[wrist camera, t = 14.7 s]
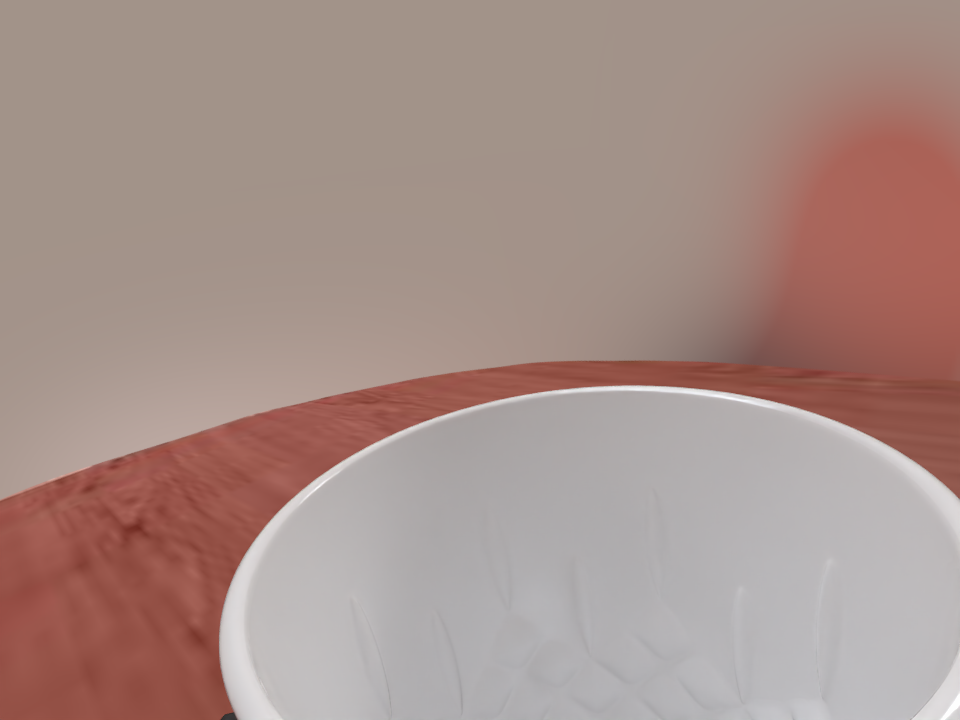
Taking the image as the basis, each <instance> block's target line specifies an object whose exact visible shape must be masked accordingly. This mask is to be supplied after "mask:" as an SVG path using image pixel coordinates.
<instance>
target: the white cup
mask: <svg viewBox="0 0 960 720" xmlns="http://www.w3.org/2000/svg"><path fill="white" fill-rule="evenodd" d="M219 656H220V665H221V672H222V677H223V681H224V685H225V689H226V692H227V695H228V698H229V701H230V704H231V706H232V709H233V711H234V714H235V716H236V718H237V720H960V499H959V498H958V497H957V496H956V495H955V494H954V493H953V492H952V491H951V490H950V489H949V488H947V487H946V486H945V485H944V484H943V483H942V482H941V481H940V480H938V479H937V478H936V477H935V476H933V475H932V474H931V473H930V472H928V471H927V470H926V469H924V468H923V467H922V466H920V465H919V464H917V463H916V462H914V461H913V460H911V459H910V458H908V457H907V456H905V455H904V454H902V453H900V452H899V451H897V450H895V449H894V448H892V447H890V446H888V445H886V444H885V443H883V442H881V441H879V440H877V439H875V438H873V437H871V436H869V435H867V434H865V433H863V432H861V431H858V430H856V429H854V428H852V427H849V426H847V425H844V424H842V423H840V422H837V421H834V420H832V419H829V418H826V417H824V416H821V415H818V414H815V413H812V412H809V411H805V410H802V409H799V408H795V407H792V406H788V405H784V404H780V403H776V402H772V401H768V400H764V399H759V398H754V397H749V396H744V395H738V394H732V393H726V392H719V391H711V390H703V389H693V388H681V387H665V386H602V387H586V388H574V389H564V390H556V391H548V392H541V393H534V394H528V395H522V396H517V397H512V398H507V399H502V400H497V401H493V402H489V403H485V404H480V405H477V406H473V407H469V408H465V409H462V410H459V411H455V412H452V413H449V414H446V415H442V416H439V417H436V418H434V419H431V420H428V421H425V422H422V423H420V424H417V425H415V426H412V427H410V428H407V429H405V430H402V431H400V432H398V433H395V434H393V435H391V436H389V437H387V438H384V439H382V440H380V441H378V442H376V443H374V444H372V445H370V446H368V447H366V448H365V449H363V450H361V451H359V452H357V453H356V454H354V455H352V456H350V457H349V458H347V459H345V460H344V461H342V462H340V463H339V464H337V465H336V466H334V467H333V468H331V469H330V470H328V471H327V472H325V473H324V474H322V475H321V476H320V477H318V478H317V479H316V480H314V481H313V482H312V483H310V484H309V485H308V486H307V487H305V488H304V489H303V490H302V491H300V492H299V493H298V494H297V495H296V496H295V497H294V498H292V499H291V500H290V501H289V502H288V503H287V504H286V505H285V506H284V507H283V508H282V509H281V510H280V511H279V512H278V513H277V514H276V515H275V516H274V517H273V518H272V519H271V520H270V522H269V523H268V524H267V525H266V526H265V527H264V529H263V530H262V531H261V532H260V534H259V535H258V536H257V538H256V539H255V540H254V542H253V543H252V545H251V546H250V548H249V549H248V551H247V552H246V554H245V556H244V557H243V559H242V561H241V563H240V565H239V567H238V569H237V571H236V573H235V575H234V577H233V579H232V582H231V584H230V587H229V590H228V592H227V596H226V599H225V602H224V606H223V611H222V616H221V622H220V631H219Z"/></svg>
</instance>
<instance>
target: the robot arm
mask: <svg viewBox="0 0 960 720" xmlns="http://www.w3.org/2000/svg"><path fill="white" fill-rule="evenodd" d="M221 720H237V718H236V716H235V714H234V713H229V714H225V715H224V716H223V717H222V719H221Z"/></svg>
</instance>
